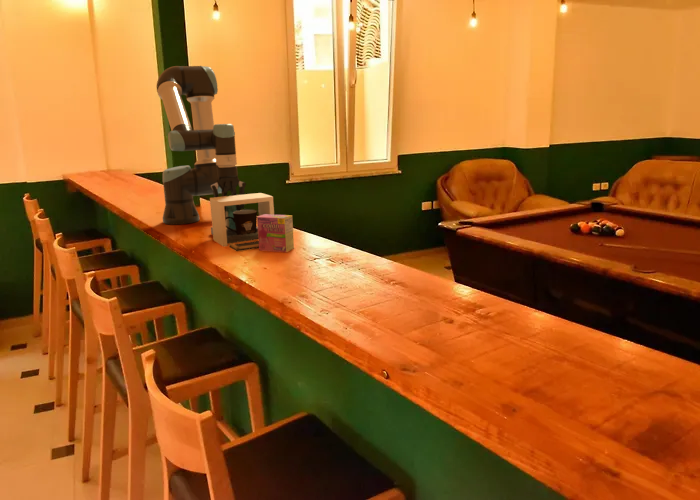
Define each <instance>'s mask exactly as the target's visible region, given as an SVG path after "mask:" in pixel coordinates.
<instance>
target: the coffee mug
mask: <svg viewBox="0 0 700 500" xmlns="http://www.w3.org/2000/svg"><path fill="white" fill-rule="evenodd" d="M233 216H234V218H232V217H226V218H225V220H226V219H228V218H230V219H232V220H233V221H234V222H235V226H236V231H235V230H233V229H231V228H229V227H227V226H226V227H227V228H228V229H230V230H232V231H234V232H236V234H237V235H240V234H249V233H255V232H256V226H257V217H258V210H255V209H241V210H239V211H235V212H233Z"/></svg>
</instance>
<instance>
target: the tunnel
mask: <svg viewBox="0 0 700 500" xmlns="http://www.w3.org/2000/svg"><path fill="white" fill-rule="evenodd" d="M239 204H244V205H247V204H257V207H258V210H257V211H258V216H261V215H263V214H272V215H275V207H274V206H275V204H274V196H272V195H270V194H266V193H262V192H258V193H255V192H254V193H247V194H246V193H244V195H239V194H237V195H234V196H232V195H227V196H224V197H222V196H219V197H214V196H213V197H209V205H210V215H211V227H212V228H213V235H212V237H213V238H212V239H213V241H214V242H215V243H217V244H218V245H220V246H222V247H228V244H227V234H226V222H225V210H224V206H230V205H239Z"/></svg>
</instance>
